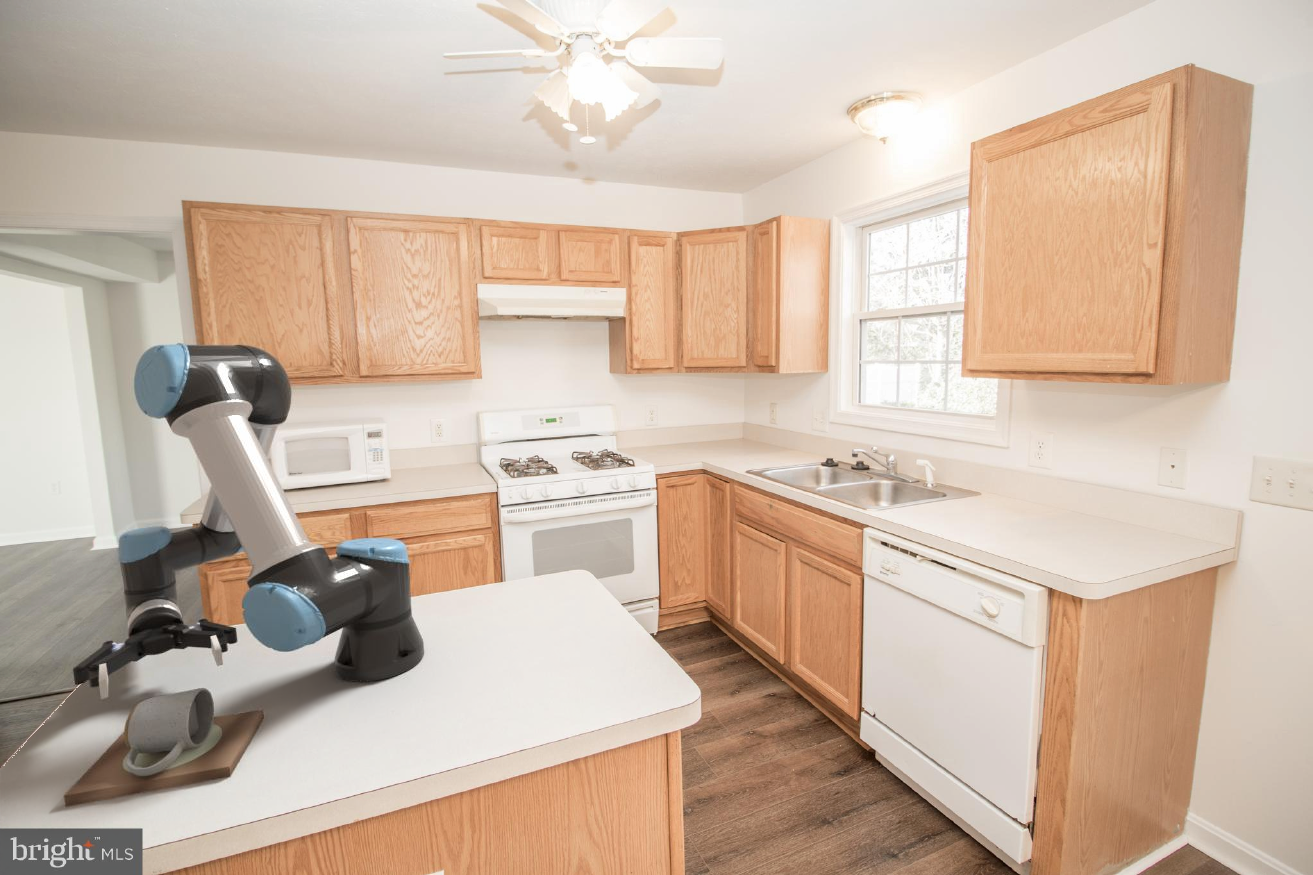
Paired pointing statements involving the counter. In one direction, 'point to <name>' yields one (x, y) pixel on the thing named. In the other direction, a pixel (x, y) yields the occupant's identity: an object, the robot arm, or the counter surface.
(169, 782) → the walnut board
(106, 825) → the counter surface
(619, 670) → the counter surface
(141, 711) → the speckled gray mug
